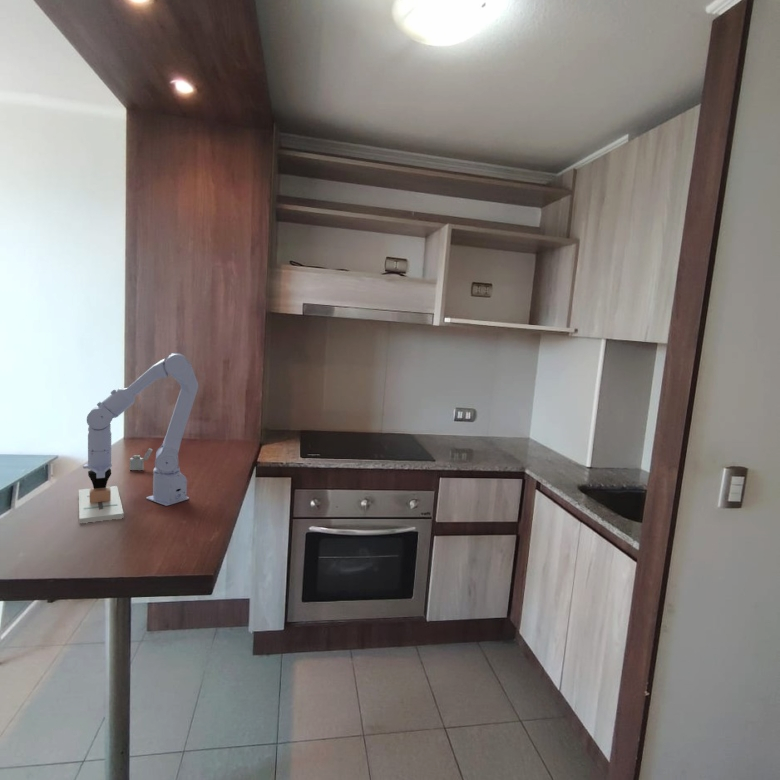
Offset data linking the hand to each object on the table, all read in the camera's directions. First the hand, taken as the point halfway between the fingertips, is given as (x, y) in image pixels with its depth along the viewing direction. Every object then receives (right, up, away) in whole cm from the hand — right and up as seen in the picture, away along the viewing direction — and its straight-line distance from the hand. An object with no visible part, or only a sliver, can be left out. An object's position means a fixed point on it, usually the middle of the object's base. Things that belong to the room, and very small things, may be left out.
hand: (99, 495), depth 139 cm
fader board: (+1, -3, -2) cm, 3 cm away
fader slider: (+1, -1, -2) cm, 3 cm away
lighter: (-5, +2, +32) cm, 33 cm away
